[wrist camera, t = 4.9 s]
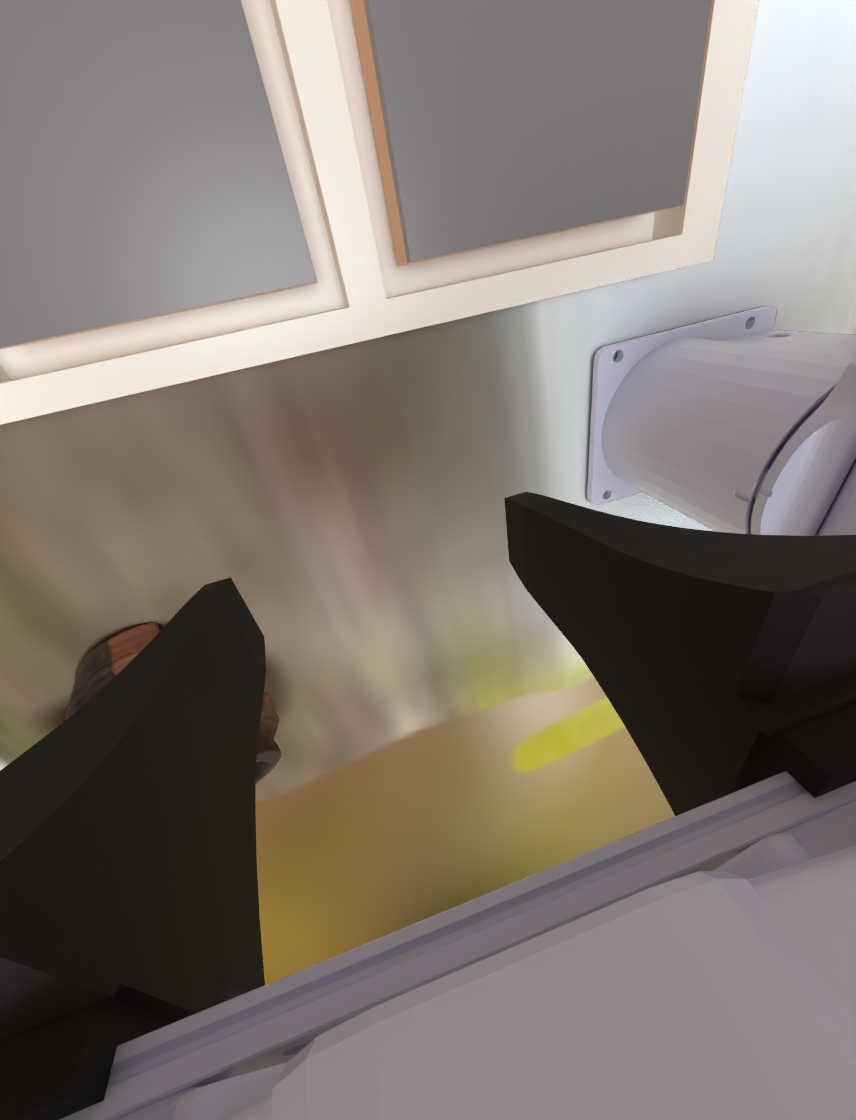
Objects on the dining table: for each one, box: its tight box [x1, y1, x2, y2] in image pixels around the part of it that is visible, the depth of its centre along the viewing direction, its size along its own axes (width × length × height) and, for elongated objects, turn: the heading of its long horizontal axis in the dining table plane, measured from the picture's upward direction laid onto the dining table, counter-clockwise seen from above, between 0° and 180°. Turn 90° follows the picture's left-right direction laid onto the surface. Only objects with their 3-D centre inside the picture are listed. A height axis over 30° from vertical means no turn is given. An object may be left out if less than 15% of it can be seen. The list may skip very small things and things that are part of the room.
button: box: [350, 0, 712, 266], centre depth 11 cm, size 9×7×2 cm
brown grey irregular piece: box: [64, 622, 281, 784], centre depth 21 cm, size 12×10×8 cm
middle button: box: [0, 0, 318, 349], centre depth 10 cm, size 9×7×2 cm
